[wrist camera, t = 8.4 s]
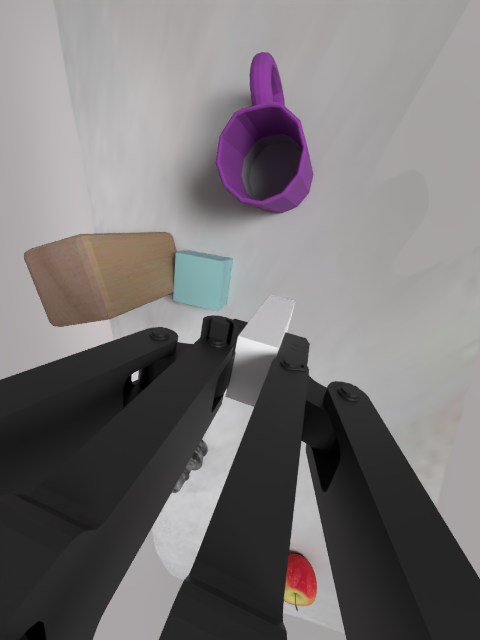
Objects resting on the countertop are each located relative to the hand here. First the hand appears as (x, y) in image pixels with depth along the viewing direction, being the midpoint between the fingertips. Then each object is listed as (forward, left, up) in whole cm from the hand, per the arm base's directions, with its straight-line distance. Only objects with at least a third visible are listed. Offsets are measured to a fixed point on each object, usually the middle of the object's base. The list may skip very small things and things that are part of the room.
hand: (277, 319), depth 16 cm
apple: (+65, +15, -30) cm, 73 cm away
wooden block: (+6, -26, -30) cm, 40 cm away
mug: (-14, -7, -30) cm, 34 cm away
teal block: (+6, -16, -30) cm, 34 cm away
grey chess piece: (+44, -13, -30) cm, 55 cm away
